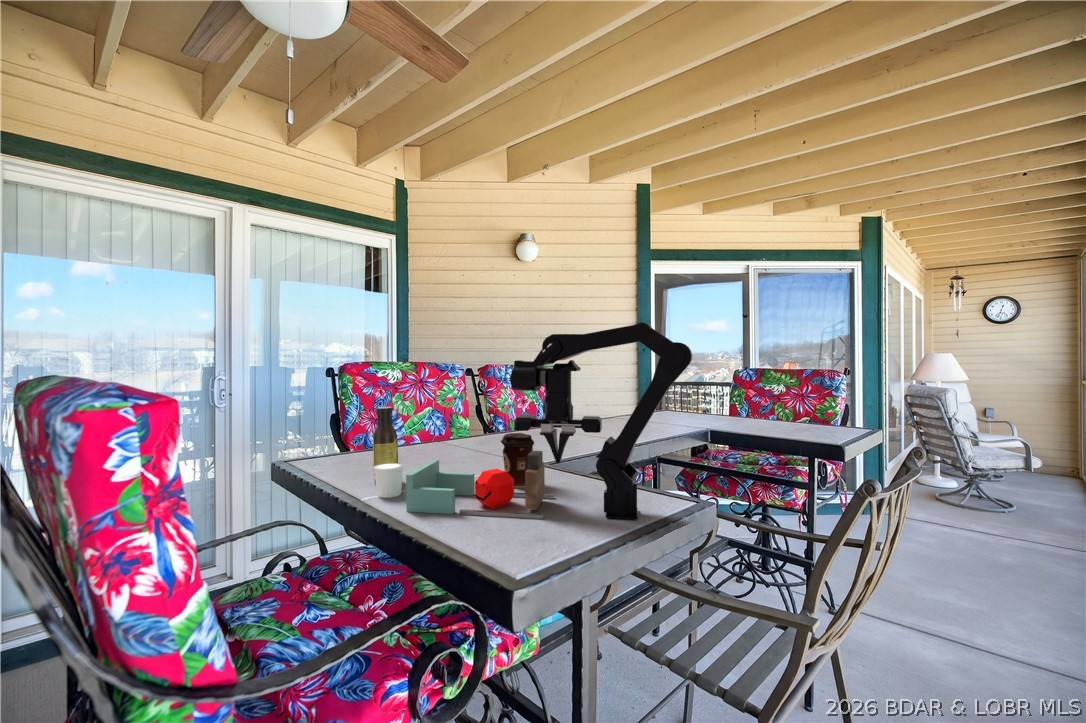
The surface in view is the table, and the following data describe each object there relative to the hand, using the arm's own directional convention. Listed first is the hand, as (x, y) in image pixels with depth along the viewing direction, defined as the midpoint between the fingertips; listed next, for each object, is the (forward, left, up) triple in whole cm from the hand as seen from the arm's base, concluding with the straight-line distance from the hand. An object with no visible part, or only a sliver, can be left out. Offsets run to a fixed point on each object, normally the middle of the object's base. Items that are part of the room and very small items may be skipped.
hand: (558, 462), depth 109 cm
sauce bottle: (+48, -14, -10) cm, 51 cm away
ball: (+14, 0, -10) cm, 18 cm away
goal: (+26, 0, -10) cm, 28 cm away
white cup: (+42, -4, -10) cm, 44 cm away
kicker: (+5, 0, -10) cm, 11 cm away
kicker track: (+11, 0, -10) cm, 15 cm away
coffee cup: (+13, -17, -10) cm, 24 cm away
